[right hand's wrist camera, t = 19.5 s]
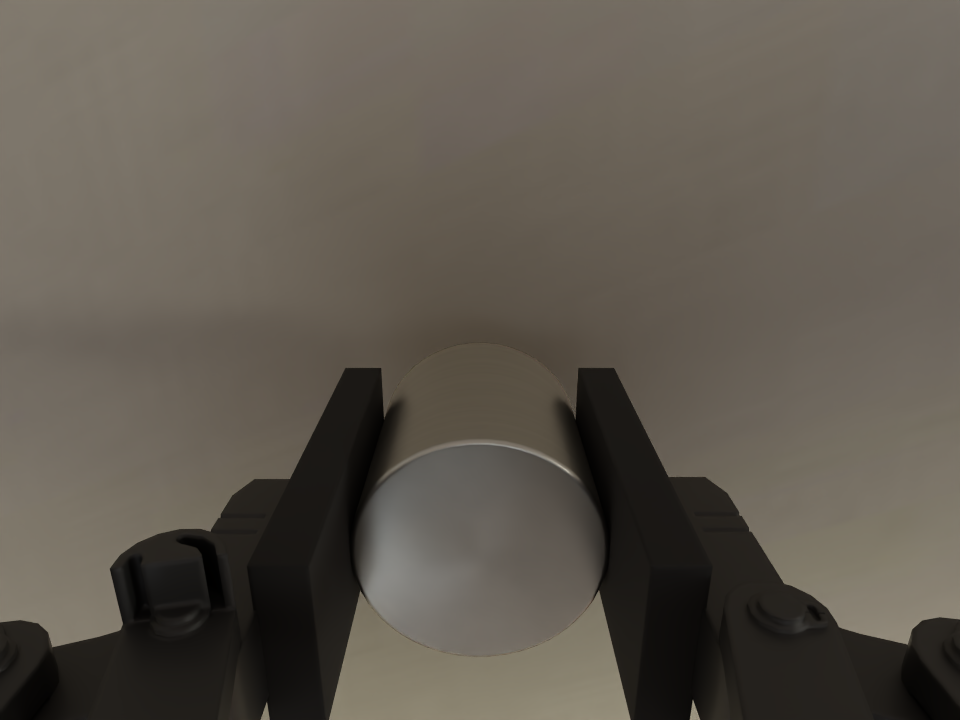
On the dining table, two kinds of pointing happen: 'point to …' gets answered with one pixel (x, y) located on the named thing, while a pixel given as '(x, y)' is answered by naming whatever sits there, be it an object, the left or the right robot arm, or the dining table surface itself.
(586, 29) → the dining table surface
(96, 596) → the dining table surface
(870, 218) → the dining table surface
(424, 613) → the can
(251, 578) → the right robot arm
